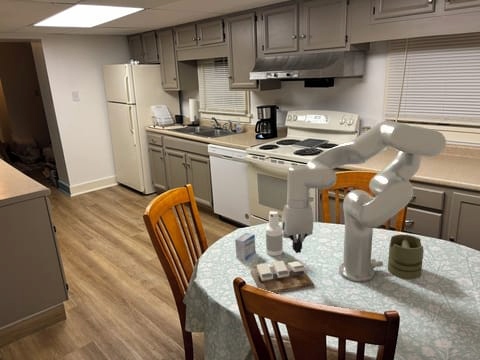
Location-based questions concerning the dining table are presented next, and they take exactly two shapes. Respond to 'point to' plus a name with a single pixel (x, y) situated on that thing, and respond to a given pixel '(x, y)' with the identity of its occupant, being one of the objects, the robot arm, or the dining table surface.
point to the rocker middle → (280, 269)
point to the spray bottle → (274, 235)
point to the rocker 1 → (264, 272)
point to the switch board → (283, 280)
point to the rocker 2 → (296, 266)
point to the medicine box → (245, 246)
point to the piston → (405, 256)
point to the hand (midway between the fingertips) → (297, 251)
